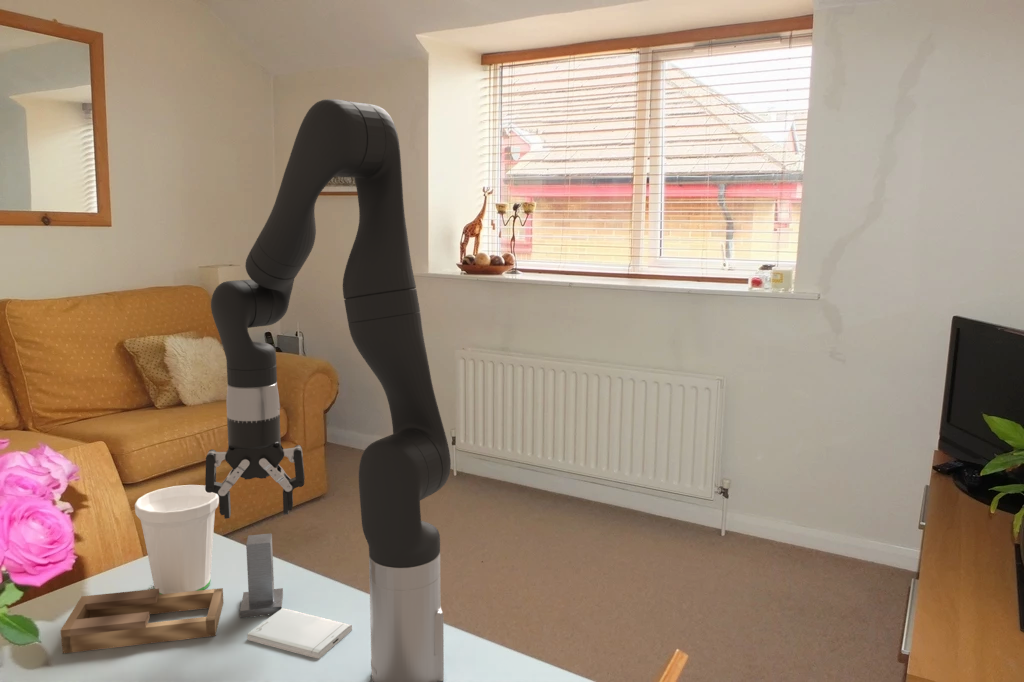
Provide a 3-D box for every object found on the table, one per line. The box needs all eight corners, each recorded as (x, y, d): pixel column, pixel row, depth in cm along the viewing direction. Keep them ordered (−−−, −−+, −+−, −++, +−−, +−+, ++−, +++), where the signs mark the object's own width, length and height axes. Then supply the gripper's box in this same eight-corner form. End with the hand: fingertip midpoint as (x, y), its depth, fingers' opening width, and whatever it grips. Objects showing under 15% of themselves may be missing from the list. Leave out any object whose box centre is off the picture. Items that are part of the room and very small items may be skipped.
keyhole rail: (223, 602, 120) (222, 582, 119) (215, 635, 110) (214, 613, 110) (83, 617, 115) (81, 596, 114) (62, 653, 106) (60, 630, 105)
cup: (127, 587, 124) (120, 499, 122) (199, 562, 134) (195, 479, 131) (163, 613, 116) (157, 519, 114) (238, 584, 126) (233, 496, 123)
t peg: (283, 595, 123) (280, 529, 121) (281, 613, 117) (278, 545, 115) (243, 599, 121) (240, 532, 119) (240, 618, 115) (236, 549, 114)
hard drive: (246, 633, 109) (318, 651, 105) (283, 606, 117) (352, 622, 112) (247, 643, 110) (318, 662, 105) (284, 616, 117) (352, 633, 113)
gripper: (199, 421, 109) (204, 528, 111) (302, 416, 112) (304, 520, 115) (206, 408, 116) (211, 509, 118) (303, 404, 119) (305, 502, 122)
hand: (257, 514), depth 117 cm, fingers open, 8 cm apart
